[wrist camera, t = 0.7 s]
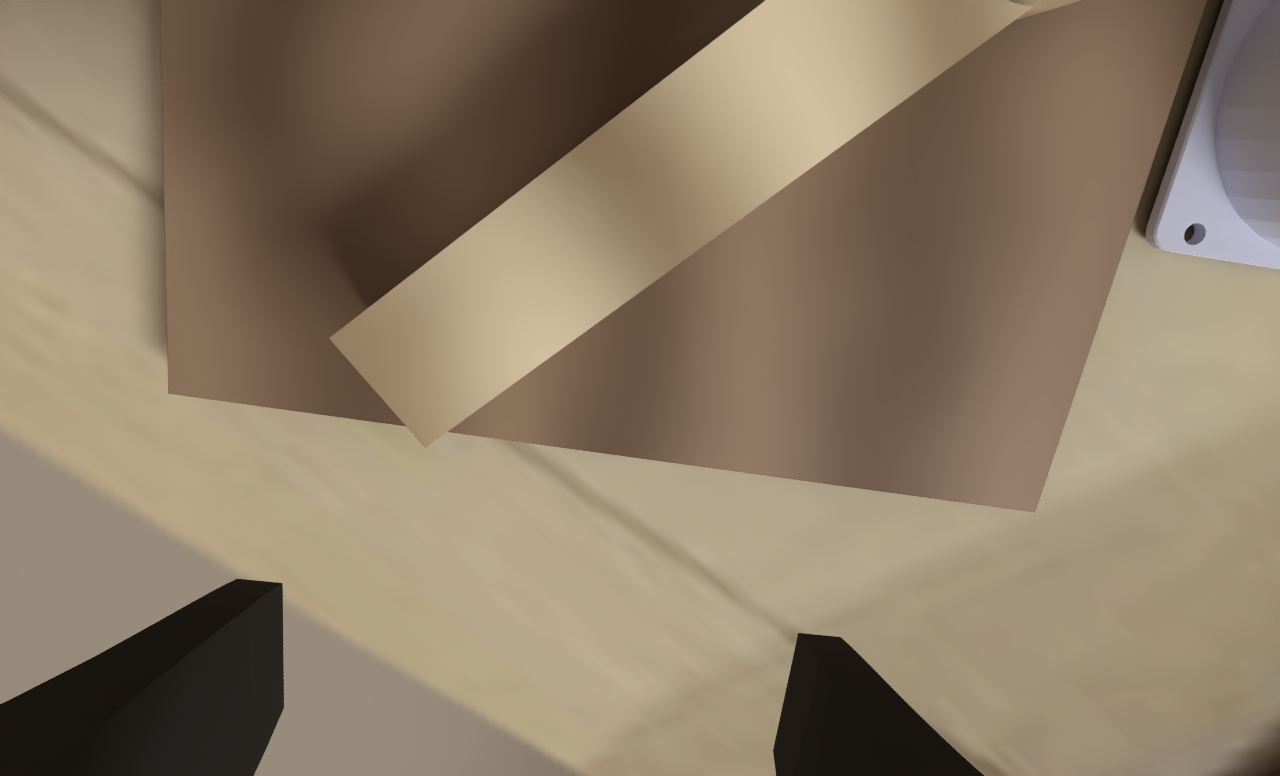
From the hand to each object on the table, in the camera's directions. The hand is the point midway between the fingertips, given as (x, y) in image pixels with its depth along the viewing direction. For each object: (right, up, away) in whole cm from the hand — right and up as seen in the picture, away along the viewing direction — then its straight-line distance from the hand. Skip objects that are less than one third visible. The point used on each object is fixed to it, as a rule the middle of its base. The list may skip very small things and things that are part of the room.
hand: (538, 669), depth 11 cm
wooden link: (+3, +10, +6) cm, 12 cm away
